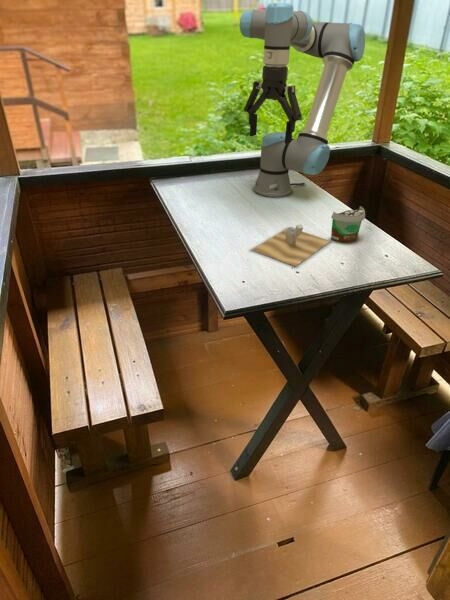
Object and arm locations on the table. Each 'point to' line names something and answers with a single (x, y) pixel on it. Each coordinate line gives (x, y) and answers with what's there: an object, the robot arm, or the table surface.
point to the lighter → (293, 234)
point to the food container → (346, 225)
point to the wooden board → (291, 248)
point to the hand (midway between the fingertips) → (270, 139)
